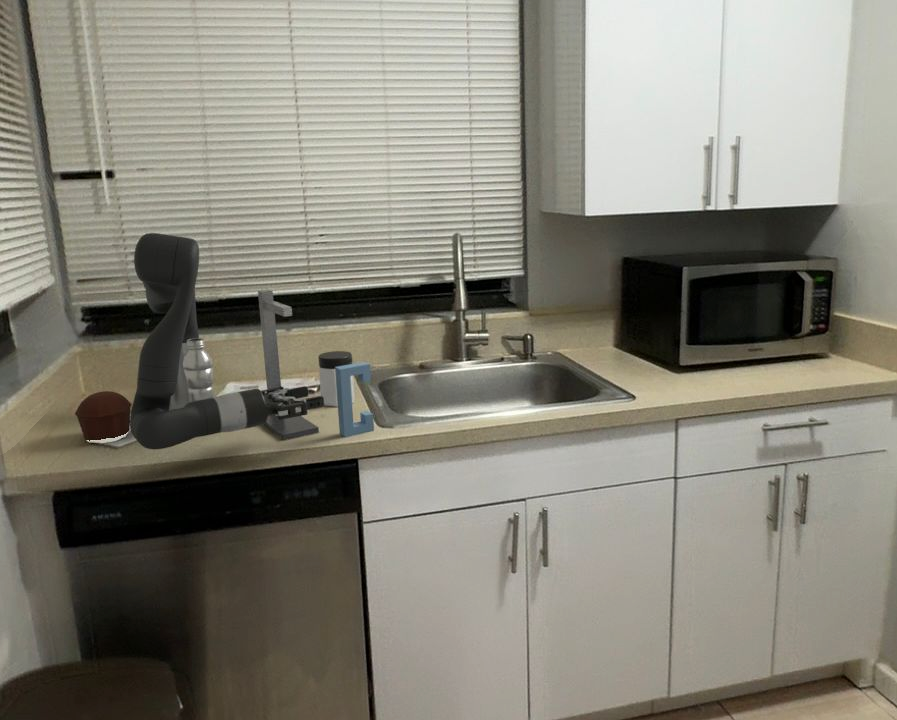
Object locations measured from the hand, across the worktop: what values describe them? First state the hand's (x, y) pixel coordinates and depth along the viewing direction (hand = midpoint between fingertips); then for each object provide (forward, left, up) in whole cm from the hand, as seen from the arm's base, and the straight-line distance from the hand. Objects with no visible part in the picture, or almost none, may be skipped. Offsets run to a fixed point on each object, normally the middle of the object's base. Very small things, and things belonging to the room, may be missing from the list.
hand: (315, 395), depth 158 cm
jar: (+2, +27, -10) cm, 29 cm away
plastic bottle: (-27, +13, -10) cm, 32 cm away
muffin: (-47, +8, -10) cm, 49 cm away
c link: (+8, +4, -10) cm, 13 cm away
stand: (-8, +10, -10) cm, 16 cm away
